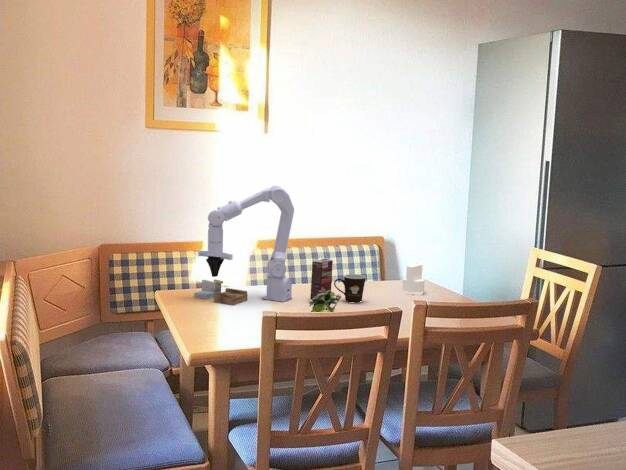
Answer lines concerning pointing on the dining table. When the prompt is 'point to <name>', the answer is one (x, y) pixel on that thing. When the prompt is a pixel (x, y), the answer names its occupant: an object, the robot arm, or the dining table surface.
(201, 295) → the lid
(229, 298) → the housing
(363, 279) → the coffee mug
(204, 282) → the key
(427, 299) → the dining table surface
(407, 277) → the base with upright slab
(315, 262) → the supplement box
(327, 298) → the green leafy plant
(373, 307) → the dining table surface
